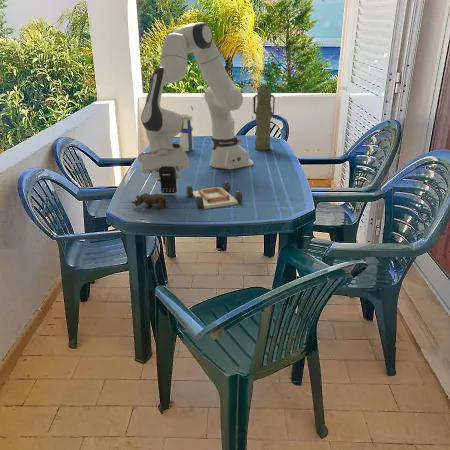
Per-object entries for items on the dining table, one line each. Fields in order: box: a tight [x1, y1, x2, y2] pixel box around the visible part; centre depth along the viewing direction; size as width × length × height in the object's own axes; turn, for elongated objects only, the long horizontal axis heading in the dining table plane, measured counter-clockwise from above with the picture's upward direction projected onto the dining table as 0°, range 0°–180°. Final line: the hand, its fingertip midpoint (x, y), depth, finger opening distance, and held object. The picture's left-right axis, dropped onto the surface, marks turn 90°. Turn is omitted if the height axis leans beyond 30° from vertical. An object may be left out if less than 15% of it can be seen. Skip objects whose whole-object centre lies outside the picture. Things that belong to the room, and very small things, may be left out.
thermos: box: [252, 85, 276, 151], centre depth 248 cm, size 9×12×35 cm
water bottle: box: [179, 106, 194, 152], centre depth 250 cm, size 8×9×25 cm
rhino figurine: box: [130, 192, 168, 210], centre depth 170 cm, size 4×14×6 cm, turn 87°
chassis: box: [185, 180, 243, 210], centre depth 179 cm, size 18×18×4 cm
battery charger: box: [158, 166, 178, 195], centre depth 181 cm, size 7×4×11 cm, turn 84°
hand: (168, 179), depth 181 cm, fingers closed on battery charger, 7 cm apart
